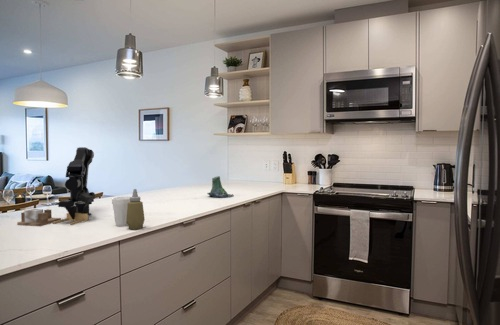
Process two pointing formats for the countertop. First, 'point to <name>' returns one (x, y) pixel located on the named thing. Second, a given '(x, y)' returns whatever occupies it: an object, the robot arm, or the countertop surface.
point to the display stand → (36, 217)
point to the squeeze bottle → (135, 212)
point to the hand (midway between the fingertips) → (77, 218)
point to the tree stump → (218, 189)
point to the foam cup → (120, 210)
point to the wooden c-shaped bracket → (78, 218)
